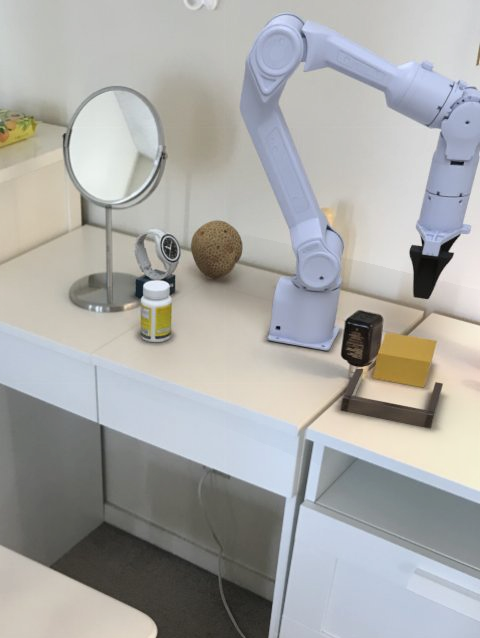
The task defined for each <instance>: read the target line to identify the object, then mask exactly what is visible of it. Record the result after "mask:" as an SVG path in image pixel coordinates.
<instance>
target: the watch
mask: <svg viewBox="0 0 480 638" xmlns="http://www.w3.org/2000/svg"><path fill="white" fill-rule="evenodd" d="M147 235H152V238H153V241H154V248H155V249H154V250H155V254H156V257H157V259H158V260H159V261H160V262H161V263H162V265H163V267H164V269H165V270H166V271H163V270H160V269H157V268H155V269H153V268H152V263H151V261H150V259H149V256H148V252H147V248H146V247H145V239H146V237H147ZM181 252H182V250H181V245H180V242H179V241H178V239H177V238H176V237H175V236H174V234H172V233H169V232H168V231H167V230H164V229H163V228H158V227H154V228H151V229H148V230H146V231H144V232H141V233H140V234H139V235H138V236H137V238H136V240H135V243H134V257H135V260H136V262H137V265H138V267H139V269H140V271H141V273H143V275H140V276H139V277H137V278H135V297H136V298H139V299H141V298H142V296H143V285H144V284H145V283H146V282H149V281H154V280H159V281H165V282H167V283H168V284H169V286H170V294H169V296H171V295H173V294H174V293H176V276H177V275H176V274H174V272H175V271H176V269H177V268H178V266H179V264H180V258H181V254H182V253H181Z"/></svg>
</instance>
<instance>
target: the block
mask: <svg viewBox="0 0 480 638" xmlns="http://www.w3.org/2000/svg"><path fill="white" fill-rule="evenodd" d="M437 343H438V340H436V339H429V338H423V337H417V336H410V335H405V334H398V333H392V332H386V333H385V335H384V338H383V340H382V343H381V345H380V347H379V349H378V352H377V355H376V360H375V364H374V369H373V373H372V379H375V380H379V381H380V380H381V381H386V382H390V383H391V382H392V383H396V384H401V385H406V386H407V385H408V386H413V387H418V388H425V386H426V382H427V378H428V375H429V373H430V370H431V366H432V362H433V358H434V354H435V350H436V346H437Z"/></svg>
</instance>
